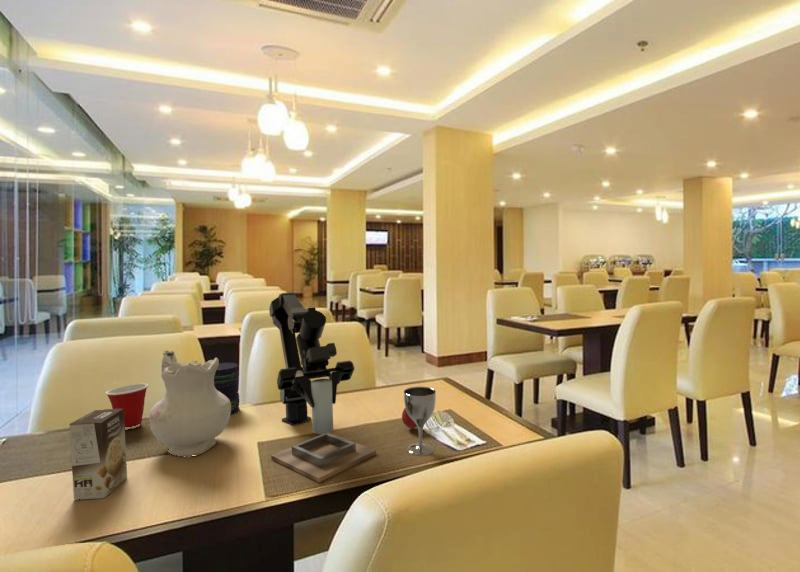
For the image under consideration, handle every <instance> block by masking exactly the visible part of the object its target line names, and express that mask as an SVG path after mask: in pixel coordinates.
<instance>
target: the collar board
mask: <svg viewBox="0 0 800 572" xmlns="http://www.w3.org/2000/svg"><path fill="white" fill-rule="evenodd" d="M375 455H377V449H374V448H372V447H368V446H365V445H363V444H360V443H358V442H356V441H352V440H350V439H347V438H344V437H341V436H339V435H335V434H333V433H332V432H329V433H325V434H318V435H317V436H314V437H312V438H309V439H307V440H305V441H302V442H300V443H296V444H294V445H292V446H291V447H288V448H286V449H284V450H281V451H279V452H277V453H274V454H271V461H274V462H276V463H278V464H280V465H282V466H284V467H286V468H288V469H291V470H292V471H295V472H296V473H298V474H300V475H302V476H304V477H306V478H309V479H310V480H313V481H314V482H317V483H321V482H323V481H325V480H327V479H329V478H331V477H333V476H335V475H337V474H339V473H340V472H343V471H345V470H347V469H349V468H351V467H353V466H356V465H357V464H359V463H361V462H363V461H366V460H367V459H369V458H371V457H373V456H375Z"/></svg>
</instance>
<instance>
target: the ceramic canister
mask: <svg viewBox="0 0 800 572" xmlns="http://www.w3.org/2000/svg"><path fill="white" fill-rule="evenodd" d="M311 393H312V398H313V402H314V407H313V408H312V407H311V422H312V424H311V425H312V432H313V433H315V434H318V435H322V434H325V433H332V432H333V431H334V409H333V408H334V407H333V405H334V404H333V398H332V380H330V379H329V378H315V379H312V380H311Z"/></svg>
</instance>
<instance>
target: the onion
mask: <svg viewBox="0 0 800 572" xmlns="http://www.w3.org/2000/svg"><path fill="white" fill-rule="evenodd" d="M401 420H402V422H403V424H404V425H405V426H406V427H407V428H409V429H410V430H415V429H416V428H417V425H416V424H415V422H414V421H413V420H412V419H411V418H410V417H409V415H408V414H407V411H406V408H405V407H404V408H403V411H402V413H401Z"/></svg>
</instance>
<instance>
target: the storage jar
mask: <svg viewBox="0 0 800 572" xmlns="http://www.w3.org/2000/svg"><path fill="white" fill-rule="evenodd" d="M238 368H239V366H238V364H237V363H236V362H219V365H218V368H217V370H216V372H215V375H214V386H215V388H216V390H218V391H219V392H221V393H222V394H224V395H225V396H226V397H227V398H228V399H229V400H230V402H231V414H230V416H233V415H235V414H234V413H236V412H237V413H239V412H240V394H239V386H238V384H239V372H238V371H239V369H238ZM238 411H239V412H238ZM237 413H236V414H237ZM232 414H233V415H232Z"/></svg>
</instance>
